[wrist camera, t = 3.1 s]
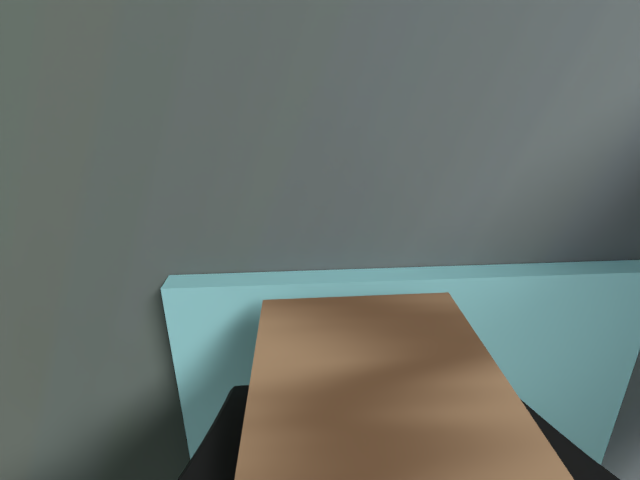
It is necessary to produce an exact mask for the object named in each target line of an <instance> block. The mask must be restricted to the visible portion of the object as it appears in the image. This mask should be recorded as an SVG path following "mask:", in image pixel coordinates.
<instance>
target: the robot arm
mask: <svg viewBox="0 0 640 480" xmlns="http://www.w3.org/2000/svg"><path fill="white" fill-rule="evenodd" d="M248 390H249V385H241V386H234V387H233V388H232V389H231V390H230V391H229V393H228V395H227V398H226V400H225V402H224V403H223V405H222V407H221V409H220V411H219V413H218V415H217V417H216V418H215V420H214V422H213V424H212V425H211V427H210V429H209V431H208V432H207V434H206V436H205V437H204V439H203V441H202V442H201V444H200V445H199V447H198V449H197V450H196V452H195V453H194V455H193V457H192V458H191V460H190V461H189V463H188V465H187V466H186V468H185V469H184V471H183V472H182V474H181V475H180V477H179V478H178V480H234V479H235V473H236V466H237V460H238V454H239V447H240V441H241V435H242V428H243V422H244V415H245V409H246V403H247V396H248ZM520 400H521V399H520ZM521 401H522V400H521ZM522 403H523V404H524V406H525V407H526V409H527V410H528V412H529V413H530V415H531V416H532V418H533V419H534V421H535V422H536V424H537V425H538V427H539V428H540V430H541V431H542V433H543V434H544V436H545V437H546V439H547V440H548V442H549V443H550V445H551V446H552V448H553V449H554V450H555V452H556V453H557V455H558V456H559V458H560V459H561V461H562V462H563V464H564V465H565V467H566V468H567V470H568V471H569V473H570V474H571V476H572V477H573V479H574V480H620V479H618V478H617V477H616V476H614V475H613V474H612V473H610V472H609V471H608V470H606V469H605V468H604V467H602V466H601V465H600V464H599V463H597V462H596V461H595V460H593V459H592V458H591V457H590V456H588V455H587V454H586V453H585V452H583V451H582V450H581V449H580V448H578V447H577V446H576V445H575V444H573V443H572V442H571V441H570V440H569V439H567V438H566V437H565V436H564V435H562V434H561V433H560V432H559V431H558V430H556V429H555V428H554V427H553V426H552V425H550V424H549V423H548V422H547V421H546V420H544V419H543V418H542V417H541V416H540V415H539V414H537V413H536V412H535V411H534V410H533V409H532V408H530V407H529V406H528V405H527V404H526V403H525V402H523V401H522Z"/></svg>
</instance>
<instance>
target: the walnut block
mask: <svg viewBox="0 0 640 480" xmlns="http://www.w3.org/2000/svg"><path fill="white" fill-rule="evenodd" d="M234 480H574V479H573V477H572V476H571V474H570V473H569V471H568V470H567V468H566V467H565V465H564V464H563V462H562V461H561V459H560V458H559V456H558V455H557V453H556V452H555V450H554V449H553V448H552V446H551V445H550V443H549V442H548V440H547V439H546V437H545V436H544V434H543V433H542V431H541V430H540V428H539V427H538V425H537V424H536V422H535V421H534V419H533V418H532V416H531V415H530V413H529V412H528V410H527V409H526V407H525V406H524V404H523V403H522V401H521V400H520V398H519V397H518V395H517V394H516V392H515V391H514V389H513V388H512V386H511V385H510V383H509V382H508V380H507V379H506V377H505V376H504V374H503V373H502V371H501V370H500V368H499V367H498V365H497V364H496V362H495V361H494V359H493V358H492V356H491V355H490V353H489V352H488V350H487V349H486V347H485V346H484V344H483V343H482V341H481V340H480V338H479V337H478V335H477V334H476V332H475V331H474V330H473V328H472V327H471V325H470V324H469V322H468V321H467V319H466V318H465V316H464V315H463V313H462V312H461V310H460V309H459V307H458V306H457V304H456V303H455V301H454V300H453V298H452V297H451V295H450V294H449V292H445V293H420V294H395V295H370V296H345V297H321V298H296V299H271V300H263V301H262V307H261V314H260V320H259V327H258V333H257V339H256V346H255V352H254V358H253V365H252V371H251V377H250V384H249V390H248V396H247V403H246V409H245V415H244V422H243V428H242V435H241V441H240V447H239V454H238V460H237V466H236V473H235V479H234Z"/></svg>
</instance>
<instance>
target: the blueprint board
mask: <svg viewBox="0 0 640 480" xmlns="http://www.w3.org/2000/svg"><path fill="white" fill-rule="evenodd" d="M445 292H449V294H450V295H451V297H452V298H453V300H454V301H455V303H456V304H457V306H458V307H459V309H460V310H461V312H462V313H463V315H464V316H465V318H466V319H467V321H468V322H469V324H470V325H471V327H472V328H473V330H474V331H475V332H476V334H477V335H478V337H479V338H480V340H481V341H482V343H483V344H484V346H485V347H486V349H487V350H488V352H489V353H490V355H491V356H492V358H493V359H494V361H495V362H496V364H497V365H498V367H499V368H500V370H501V371H502V373H503V374H504V376H505V377H506V379H507V380H508V382H509V383H510V385H511V386H512V388H513V389H514V391H515V392H516V394H517V395H518V397H519V398H520V399H521V400H522V401H523V402H525V403H526V404H527V405H528V406H529V407H530V408H532V409H533V410H534V411H535V412H536V413H537V414H539V415H540V416H541V417H542V418H543V419H544V420H546V421H547V422H548V423H549V424H550V425H552V426H553V427H554V428H555V429H556V430H558V431H559V432H560V433H561V434H562V435H564V436H565V437H566V438H567V439H569V440H570V441H571V442H572V443H573V444H575V445H576V446H577V447H578V448H580V449H581V450H582V451H583V452H585V453H586V454H587V455H588V456H590V457H591V458H592V459H593V460H595V461H596V462H597V463H599V464H600V465H601V463H602V460H603V457H604V454H605V451H606V448H607V445H608V442H609V440H610V437H611V434H612V431H613V428H614V425H615V422H616V419H617V416H618V413H619V410H620V407H621V404H622V401H623V398H624V395H625V392H626V389H627V386H628V383H629V380H630V377H631V374H632V371H633V368H634V365H635V362H636V359H637V356H638V353H639V350H640V260H619V261H589V262H558V263H528V264H497V265H466V266H436V267H405V268H375V269H344V270H314V271H283V272H252V273H222V274H191V275H169V276H168V278H167V279H166V281H165V283H164V284H163V286H162V287H161V294H162V300H163V306H164V311H165V317H166V323H167V328H168V334H169V340H170V346H171V351H172V357H173V363H174V368H175V374H176V380H177V386H178V391H179V397H180V403H181V408H182V414H183V420H184V426H185V431H186V437H187V443H188V449H189V454H190V460H191V458H192V457H193V455H194V453H195V452H196V450H197V449H198V447H199V445H200V444H201V442H202V441H203V439H204V437H205V436H206V434H207V432H208V431H209V429H210V427H211V425H212V424H213V422H214V420H215V418H216V417H217V415H218V413H219V411H220V409H221V407H222V405H223V403H224V402H225V400H226V398H227V395H228V393H229V391H230V390H231V389H232V388H233V387H234V386H241V385H249V384H250V377H251V371H252V365H253V358H254V352H255V346H256V339H257V333H258V327H259V320H260V314H261V307H262V301H263V300H271V299H296V298H321V297H345V296H370V295H395V294H420V293H445Z"/></svg>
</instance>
